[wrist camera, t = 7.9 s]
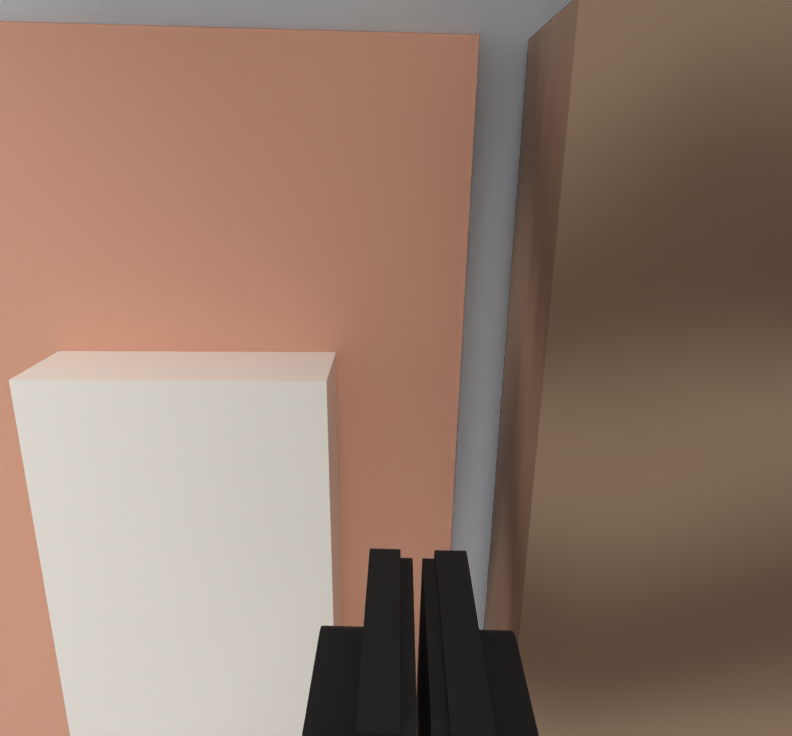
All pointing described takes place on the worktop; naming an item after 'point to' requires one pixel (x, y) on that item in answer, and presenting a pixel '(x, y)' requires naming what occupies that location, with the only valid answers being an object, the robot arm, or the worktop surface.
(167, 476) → the ceramic tile
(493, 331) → the worktop surface
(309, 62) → the rubber mat
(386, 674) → the robot arm
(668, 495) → the walnut block
